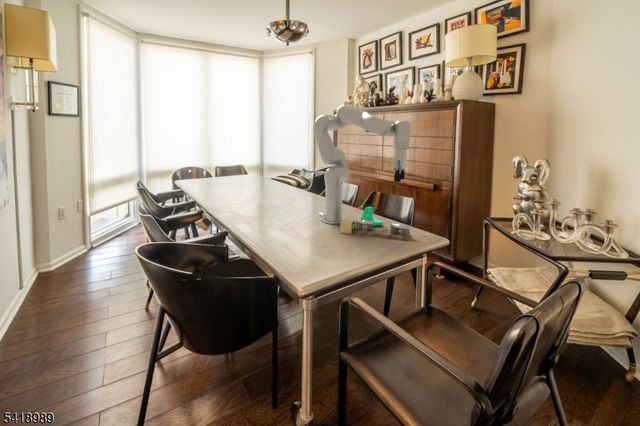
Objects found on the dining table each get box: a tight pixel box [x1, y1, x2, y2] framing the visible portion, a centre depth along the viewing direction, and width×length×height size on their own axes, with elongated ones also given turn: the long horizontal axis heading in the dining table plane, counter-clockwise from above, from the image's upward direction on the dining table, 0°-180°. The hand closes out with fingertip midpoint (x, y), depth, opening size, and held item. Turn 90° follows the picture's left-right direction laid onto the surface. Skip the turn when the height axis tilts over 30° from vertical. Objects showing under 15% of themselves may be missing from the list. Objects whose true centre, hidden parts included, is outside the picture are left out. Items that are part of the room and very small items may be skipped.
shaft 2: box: [389, 222, 411, 236], centre depth 178 cm, size 9×4×5 cm, turn 56°
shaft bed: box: [353, 226, 411, 241], centre depth 182 cm, size 26×11×2 cm, turn 66°
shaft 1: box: [355, 219, 375, 231], centre depth 185 cm, size 9×4×5 cm, turn 76°
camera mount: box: [360, 206, 384, 227], centre depth 200 cm, size 12×8×10 cm, turn 24°
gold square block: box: [339, 218, 356, 235], centre depth 185 cm, size 7×6×6 cm
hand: (399, 180), depth 182 cm, fingers open, 9 cm apart
